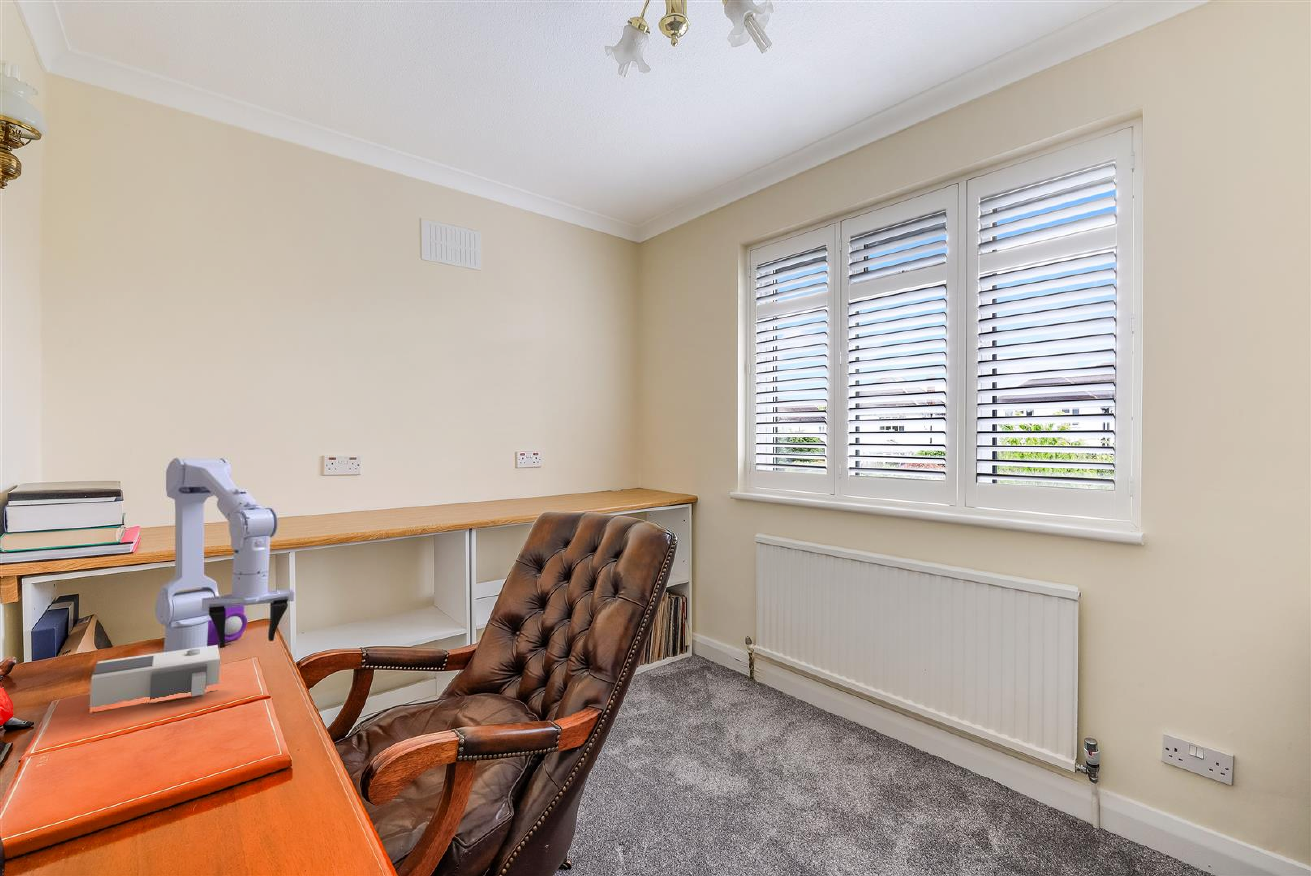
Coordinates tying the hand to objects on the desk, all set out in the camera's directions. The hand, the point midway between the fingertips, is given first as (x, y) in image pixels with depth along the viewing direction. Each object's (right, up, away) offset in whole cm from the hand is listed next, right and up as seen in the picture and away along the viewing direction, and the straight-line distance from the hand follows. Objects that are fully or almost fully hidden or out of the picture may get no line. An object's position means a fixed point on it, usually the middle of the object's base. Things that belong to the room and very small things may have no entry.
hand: (247, 643), depth 113 cm
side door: (-9, -9, -5) cm, 13 cm away
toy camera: (-26, -10, +27) cm, 39 cm away
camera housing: (-16, -9, -1) cm, 18 cm away
